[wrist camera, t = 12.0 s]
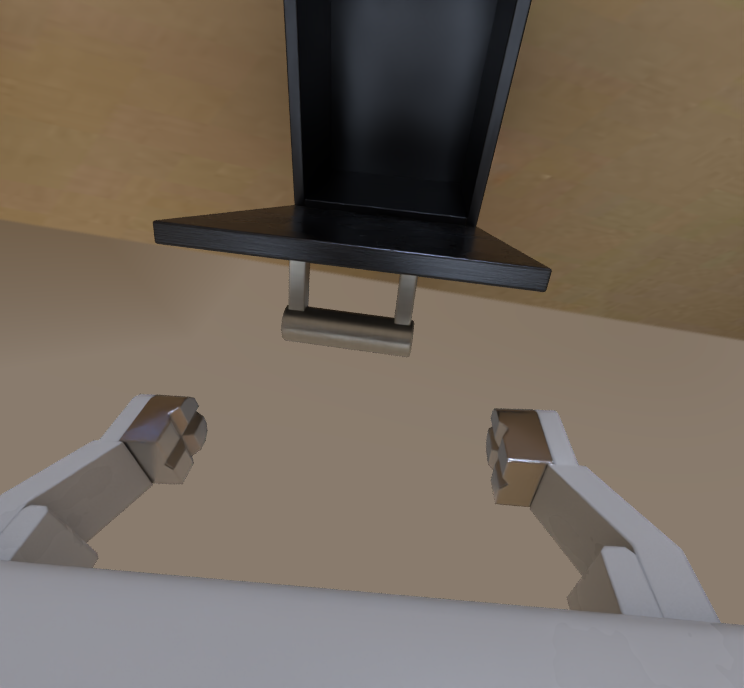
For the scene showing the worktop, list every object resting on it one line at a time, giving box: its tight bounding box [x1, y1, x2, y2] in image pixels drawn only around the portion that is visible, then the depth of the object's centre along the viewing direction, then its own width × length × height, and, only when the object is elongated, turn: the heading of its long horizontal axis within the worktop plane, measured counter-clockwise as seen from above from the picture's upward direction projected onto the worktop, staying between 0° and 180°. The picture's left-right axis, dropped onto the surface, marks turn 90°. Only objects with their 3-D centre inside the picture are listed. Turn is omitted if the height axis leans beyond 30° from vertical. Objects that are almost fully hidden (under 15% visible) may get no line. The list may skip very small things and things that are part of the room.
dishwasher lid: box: [153, 205, 552, 357], centre depth 21 cm, size 16×14×5 cm
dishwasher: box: [283, 0, 532, 226], centre depth 27 cm, size 16×14×10 cm
